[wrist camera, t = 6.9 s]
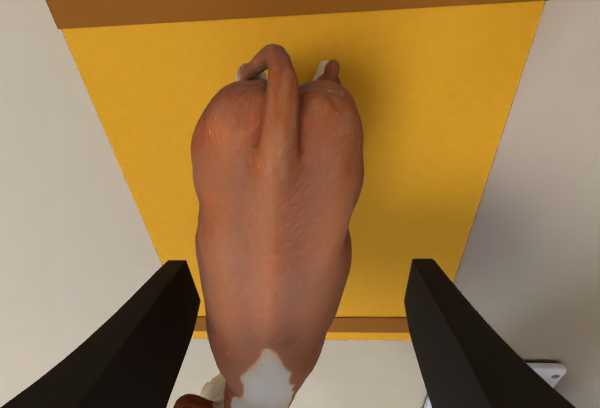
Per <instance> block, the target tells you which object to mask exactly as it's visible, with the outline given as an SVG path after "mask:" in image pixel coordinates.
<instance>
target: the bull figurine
mask: <svg viewBox="0 0 600 408" xmlns="http://www.w3.org/2000/svg"><path fill="white" fill-rule="evenodd" d="M267 69H268V78H267V77H266V73H265V72H264V71H265V70H267ZM339 69H340V66H339V63H338V61H336V60H324V61H322V62H320V64H319V65H318V69H317V72H316V75H315V76H314V78H313V79H312V81H309V82H306V83H303V84H301V85H299V84H298V79H297V76H296V73H295V70H294V67H293V64H292V61H291V58H290V56H289V54H288V53H287V51H286V50H285V48H284V47H282V46H281V45H277V44H269V45H266V46H264V47H263V48H262V49H261V50H260V51H259V52H258V53H257V54H256V55H255V56H254V57H253V58H252V60H251V61H250V62H249V63H244V64H242V65H240V67H239V68H238V69H237V73H236V80H237V81H236V82H232V83H230V84H228V85H226V86H224V87H223V88H221V89H220V90H219V91H218V92H217V93H216V94H215V96H214V97H213V98H212V99H211V101H210V102H209V104H208V105H207V107H206V108H205V110H204V111H203V113H202V115H201V117H200V118H199V120H198V122H197V125H196V127H195V130H194V132H193V135H192V141H191V146H190V147H191V162H192V167H193V172H192V173H193V182H194V188H195V192H196V194H197V197H198V200H199V215H198V227H197V231H196V235H195V249H196V257H197V262H198V267H199V274H200V280H201V286H202V292H203V298H204V304H205V312H206V329H207V335H208V339H209V343H210V346H211V350H212V352H213V355H214V358H215V361H216V364H217V367H218V369H219V371H220V372H221V373H220V374H219V375H217V376H216V377H215V378H213V379H212V380H211V382H208V383H206V384H205V385H204V387H203V388H202V391H201V396H198V395H194V394H185V395H183V396H181V397H180V398H179V399H178V400H177V401H176V403H175V405H174V408H289V406H290V405H291V403H292V401H293V399H294V397H295V394H296V393H297V391H298V390H299V388H300V387H301V385H302V384H303V382H304V381H305V379H306V378H307V377H308V375H309V374H310V373H311V372H312V370H313V368H314V366H315V365H316V363H317V360H318V358H319V356H320V353H321V350H322V347H323V344H324V341H325V337H326V334H327V332H328V330H329V328H330V326H331V324H332V322H333V320H334V318H335V316H336V313H337V310H338V308H339V304H340V301H341V298H342V295H343V291H344V288H345V285H346V282H347V279H348V275H349V272H350V267H351V260H352V244H351V235H350V231H349V228H348V226H349V223H350V219H351V215H352V212H353V210H354V208H355V206H356V204H357V202H358V199H359V196H360V193H361V190H362V186H363V180H364V161H363V140H364V134H363V127H362V122H361V118H360V115H359V113H358V110H357V107H356V104H355V101H354V98H353V96H352V95H351V94H350V92H349V91H348V90H347V89H346V88H345V87H343V86H341V81H340V78H339V76H338V73H339Z"/></svg>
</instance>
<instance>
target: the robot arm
mask: <svg viewBox="0 0 600 408" xmlns="http://www.w3.org/2000/svg"><path fill="white" fill-rule="evenodd" d="M200 302H201V300H200V297H199V294H198V291H197V289H196V286H195V283H194V280H193V278H192V275H191V272H190V269H189V266H188V264H187V261H186V260H168V261H167V262H166V263H165V264H164V265H163V266H162V267H161V268H160V269H159V270H158V271H157V272H156V273H155V274H154V275H153V276H152V277H151V278H150V279H149V280H148V281H147V282H146V283H145V284H144V285H143V286H142V287H141V288H140V289H139V290H138V291H137V292H136V293H135V294H134V295H133V296H132V297H131V298H130V299H129V300H128V301H127V302H126V303H125V304H124V305H123V306H122V307H121V308H120V309H119V310H118V311H117V312H116V313H115V314H114V315H113V316H112V317H111V318H110V319H109V320H107V321H106V322H105V323H104V324H103V325H102V326H101V327H100V328H99V329H98V330H97V331H95V332H94V333H93V334H92V335H91V336H90V337H89V338H88V339H87V340H86V341H85V342H84V343H82V344H81V345H80V346H79V347H78V348H77V349H75V350H74V351H73V352H72V353H71V354H70V355H68V356H67V357H66V358H65V359H64V360H62V361H61V362H60V363H59V364H57V365H56V366H55V367H54V368H52V369H51V370H50V371H49V372H47V373H46V374H45V375H44V376H42V377H41V378H40V379H39V380H37V381H36V382H35V383H33V384H32V385H31V386H29V387H28V388H27V389H25V390H24V391H22V392H21V393H20V394H18V395H17V396H16V397H14V398H13V399H12V400H10V401H9V402H7V403H6V404H5V405H3V406H2V407H1V408H166V406H167V403H168V400H169V398H170V395H171V392H172V389H173V387H174V384H175V381H176V379H177V376H178V373H179V370H180V368H181V365H182V362H183V360H184V357H185V354H186V351H187V349H188V346H189V343H190V340H191V338H192V335H193V332H194V328H195V324H196V320H197V316H198V311H199V307H200ZM404 305H405V311H406V317H407V322H408V328H409V333H410V336H411V340H412V343H413V347H414V350H415V353H416V357H417V360H418V363H419V367H420V370H421V373H422V377H423V380H424V383H425V387H426V390H427V393H428V396H427V399H426V401H425V404H424V407H423V408H575V407H574V406H573V405H572V404H571V403H570V402H568V401H567V400H566V399H565V398H564V397H563V396H562V395H560V394H559V393H558V392H557V391H556V390H555V389H554V386H555V385H556V384H557V383H558V382H559V380H560V379H561V378H562V377H563V376H564V374H565V373H566V369H565V367H564V366H563V365H562V364H560V363H526V362H525V361H524V360H523V359H522V358H521V357H520V356H519V355H518V354H517V353H516V352H515V351H514V350H513V349H512V348H511V347H510V346H509V345H508V344H507V343H506V342H505V341H504V340H503V339H502V338H501V337H500V336H499V335H498V334H497V333H496V332H495V331H494V330H493V329H492V327H491V326H490V325H489V324H488V323H487V322H486V321H485V320H484V319H483V317H482V316H481V315H480V314H479V313H478V312H477V311H476V310H475V309H474V307H473V306H472V305H471V304H470V303H469V302H468V300H467V299H466V298H465V297H464V296H463V295H462V293H461V292H460V291H459V290H458V289H457V287H456V286H455V285H454V284H453V283H452V281H451V280H450V279H449V278H448V276H447V275H446V274H445V273H444V271H443V270H442V269H441V268H440V266H439V265H438V264H437V263H436V261H435V260H434V259H412V263H411V268H410V273H409V278H408V283H407V288H406V293H405V298H404Z"/></svg>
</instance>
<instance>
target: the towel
mask: <svg viewBox="0 0 600 408" xmlns="http://www.w3.org/2000/svg"><path fill="white" fill-rule="evenodd" d="M545 1H547V0H46V2H47V5H48V7H49V9H50V12H51V14H52V16H53V18H54V21H55V23H56V25H57V28H58V29H61V30H62V32H63V35H64V37H65V39H66V42H67V44H68V46H69V49H70V51H71V53H72V56H73V58H74V60H75V63H76V65H77V67H78V70H79V72H80V74H81V77H82V79H83V81H84V84H85V86H86V88H87V90H88V93H89V95H90V97H91V100H92V102H93V104H94V107H95V109H96V111H97V114H98V116H99V118H100V121H101V123H102V125H103V128H104V130H105V132H106V135H107V137H108V139H109V142H110V144H111V146H112V149H113V151H114V153H115V156H116V158H117V160H118V163H119V165H120V167H121V170H122V172H123V174H124V177H125V179H126V181H127V184H128V186H129V188H130V191H131V193H132V195H133V198H134V200H135V202H136V205H137V207H138V209H139V212H140V214H141V216H142V219H143V221H144V223H145V226H146V228H147V230H148V233H149V235H150V237H151V240H152V242H153V244H154V246H155V249H156V251H157V253H158V256H159V258H160V260H161V263H162V265H164V264H165V263H166V262H167V261H168V260H186V261H187V264H188V266H189V269H190V272H191V275H192V278H193V280H194V283H195V286H196V289H197V291H198V294H199V297H200V300H201V302H200V307H199V311H198V316H197V320H196V324H195V328H194V332H193V337H194V338H195V339H208V335H207V329H206V312H205V304H204V298H203V292H202V286H201V280H200V274H199V267H198V262H197V257H196V249H195V235H196V231H197V227H198V215H199V200H198V197H197V194H196V192H195V188H194V182H193V173H192V172H193V167H192V162H191V147H190V146H191V141H192V135H193V132H194V130H195V127H196V125H197V122H198V120H199V118H200V117H201V115H202V113H203V111H204V110H205V108H206V107H207V105H208V104H209V102H210V101H211V99H212V98H213V97H214V96H215V94H216V93H217V92H218V91H219V90H220V89H221V88H223V87H224V86H226V85H228V84H230V83H232V82H236V81H237V80H236V73H237V69H238V68H239V67H240V65H242V64H244V63H249V62H250V61H251V60H252V58H253V57H254V56H255V55H256V54H257V53H258V52H259V51H260V50H261V49H262V48H263V47H264V46H266V45H269V44H277V45H281V46H282V47H284V48H285V50H286V51H287V53H288V54H289V56H290V58H291V61H292V64H293V67H294V70H295V73H296V76H297V79H298V84H299V85H301V84H303V83H306V82H309V81H312V79H313V78H314V76H315V75H316V72H317V69H318V65H319V64H320V62H322V61H324V60H336V61H338V63H339V66H340V69H339V73H338V76H339V78H340V81H341V86H343V87H345V88H346V89H347V90H348V91H349V92H350V94H351V95H352V96H353V98H354V101H355V104H356V107H357V110H358V113H359V115H360V118H361V122H362V127H363V134H364V140H363V161H364V180H363V186H362V190H361V193H360V196H359V199H358V202H357V204H356V206H355V208H354V210H353V212H352V215H351V219H350V223H349V226H348V228H349V231H350V235H351V244H352V260H351V267H350V272H349V275H348V279H347V282H346V285H345V288H344V291H343V295H342V298H341V301H340V304H339V308H338V310H337V313H336V316H335V318H334V320H333V322H332V324H331V326H330V328H329V330H328V332H327V334H326V337H325V340H404V341H412V340H411V336H410V333H409V328H408V322H407V317H406V311H405V305H404V298H405V293H406V288H407V283H408V278H409V273H410V268H411V263H412V259H434V260H435V261H436V263H437V264H438V265H439V266H440V268H441V269H442V270H443V271H444V273H445V274H446V275H447V276H448V278H449V279H450V280H451V281H452V283H453V282H454V279H455V276H456V273H457V270H458V267H459V264H460V261H461V258H462V255H463V252H464V249H465V246H466V243H467V239H468V236H469V233H470V230H471V227H472V224H473V221H474V218H475V215H476V212H477V209H478V206H479V203H480V200H481V197H482V194H483V191H484V188H485V185H486V181H487V178H488V175H489V172H490V169H491V166H492V163H493V160H494V157H495V154H496V151H497V148H498V145H499V142H500V139H501V136H502V133H503V130H504V127H505V123H506V120H507V117H508V114H509V111H510V108H511V105H512V102H513V99H514V96H515V93H516V90H517V87H518V84H519V81H520V78H521V75H522V72H523V69H524V65H525V62H526V59H527V56H528V53H529V50H530V47H531V44H532V41H533V38H534V35H535V32H536V29H537V26H538V23H539V20H540V17H541V14H542V11H543V7H544V4H545ZM264 72H265V73H266V77H267V78H268V69H267V70H265V71H264Z"/></svg>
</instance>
